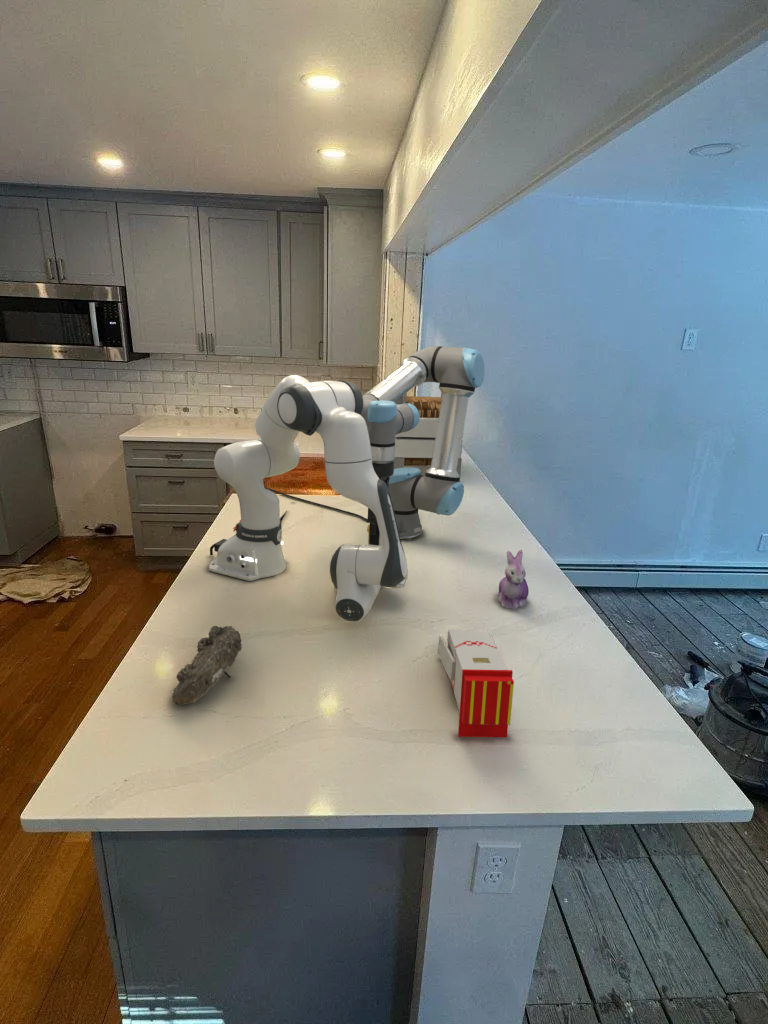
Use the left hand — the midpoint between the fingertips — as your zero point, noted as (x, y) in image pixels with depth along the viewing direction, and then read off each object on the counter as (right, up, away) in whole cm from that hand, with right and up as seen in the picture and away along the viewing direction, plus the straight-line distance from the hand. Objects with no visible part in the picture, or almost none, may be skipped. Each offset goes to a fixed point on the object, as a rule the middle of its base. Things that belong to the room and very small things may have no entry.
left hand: (376, 560), depth 162 cm
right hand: (0, +6, -3) cm, 7 cm away
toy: (+20, -24, -44) cm, 53 cm away
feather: (-35, +13, +51) cm, 63 cm away
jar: (0, -6, +1) cm, 7 cm away
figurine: (+38, -11, -6) cm, 40 cm away
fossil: (-34, -21, -42) cm, 58 cm away
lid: (0, +10, -4) cm, 11 cm away
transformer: (+19, +33, +113) cm, 119 cm away
